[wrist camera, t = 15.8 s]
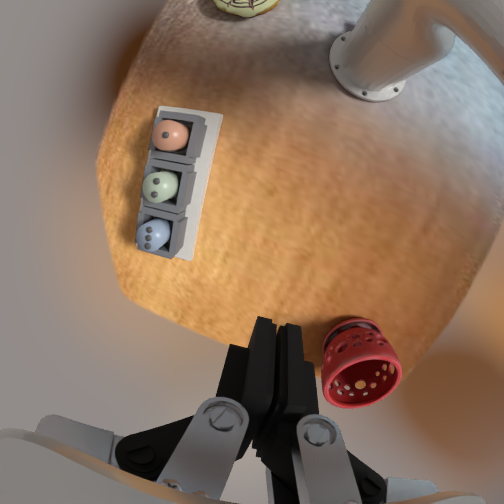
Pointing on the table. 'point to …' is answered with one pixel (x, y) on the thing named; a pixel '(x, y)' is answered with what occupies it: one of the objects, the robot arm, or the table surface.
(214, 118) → the button board
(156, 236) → the button three pip
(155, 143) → the button one pip
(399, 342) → the table surface
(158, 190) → the button two pip
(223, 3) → the decorated donut
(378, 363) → the plant pot
